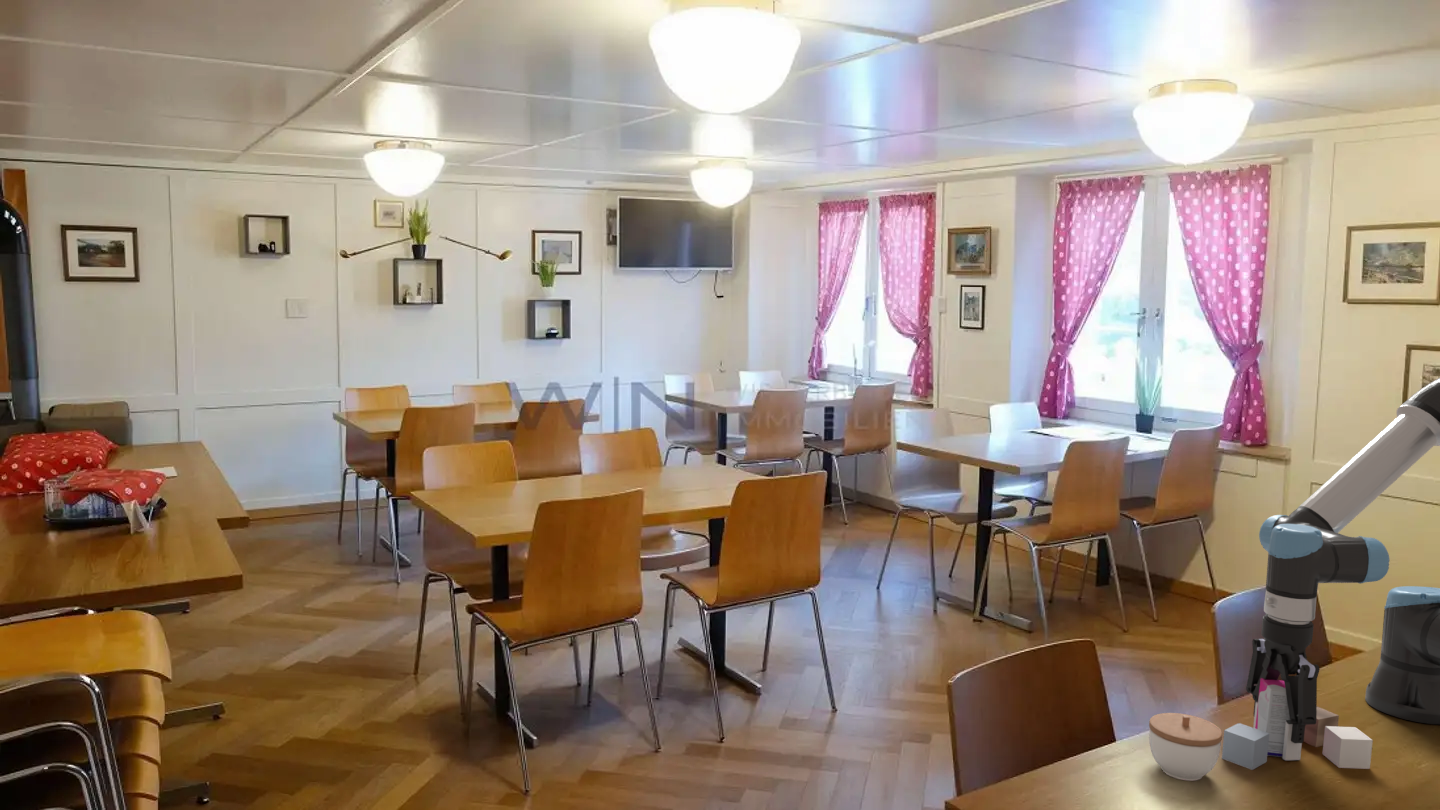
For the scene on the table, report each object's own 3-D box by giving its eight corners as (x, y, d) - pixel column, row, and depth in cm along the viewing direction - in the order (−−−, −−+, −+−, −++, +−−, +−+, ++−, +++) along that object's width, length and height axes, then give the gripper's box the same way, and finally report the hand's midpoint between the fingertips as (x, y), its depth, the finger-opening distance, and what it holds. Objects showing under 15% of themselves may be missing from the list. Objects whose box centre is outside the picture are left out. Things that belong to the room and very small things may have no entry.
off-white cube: (1352, 755, 178) (1355, 727, 177) (1369, 769, 173) (1372, 740, 172) (1322, 754, 178) (1325, 726, 177) (1338, 768, 173) (1341, 738, 172)
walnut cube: (1310, 731, 187) (1312, 704, 186) (1336, 743, 182) (1338, 715, 182) (1290, 735, 185) (1292, 708, 184) (1315, 747, 180) (1318, 719, 180)
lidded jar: (1221, 767, 172) (1226, 712, 171) (1214, 794, 163) (1219, 736, 162) (1151, 751, 177) (1155, 697, 176) (1140, 776, 168) (1145, 720, 167)
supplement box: (1301, 759, 175) (1307, 693, 174) (1262, 755, 177) (1268, 689, 175) (1289, 744, 181) (1295, 680, 180) (1252, 740, 182) (1258, 677, 181)
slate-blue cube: (1236, 751, 178) (1238, 722, 178) (1266, 762, 174) (1269, 733, 174) (1221, 759, 175) (1224, 730, 175) (1252, 770, 171) (1254, 741, 171)
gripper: (1230, 599, 185) (1219, 724, 188) (1309, 638, 166) (1295, 777, 168) (1269, 599, 186) (1258, 723, 189) (1352, 637, 167) (1338, 775, 170)
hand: (1275, 748), depth 179 cm, fingers closed on supplement box, 7 cm apart
